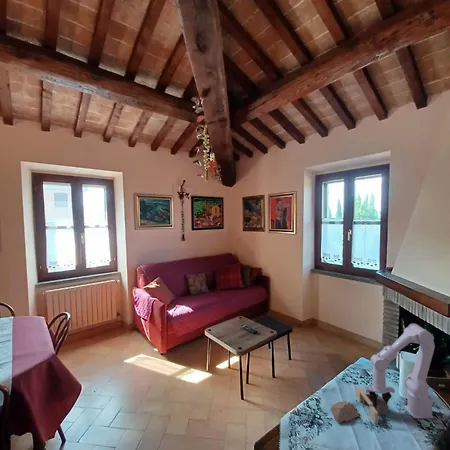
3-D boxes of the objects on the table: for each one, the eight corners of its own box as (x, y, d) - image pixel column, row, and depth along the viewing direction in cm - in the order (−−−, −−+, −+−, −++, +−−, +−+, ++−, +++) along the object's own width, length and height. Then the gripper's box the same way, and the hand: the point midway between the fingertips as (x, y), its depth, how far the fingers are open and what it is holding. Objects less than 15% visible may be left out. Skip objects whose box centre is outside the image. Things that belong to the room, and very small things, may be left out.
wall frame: (358, 395, 138) (358, 384, 138) (378, 423, 119) (377, 410, 119) (355, 395, 138) (355, 384, 138) (375, 423, 119) (374, 410, 119)
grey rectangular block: (380, 405, 130) (380, 396, 130) (388, 414, 124) (387, 404, 124) (372, 405, 130) (372, 396, 130) (379, 414, 124) (378, 404, 124)
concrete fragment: (361, 418, 122) (361, 406, 122) (338, 425, 119) (337, 413, 119) (351, 408, 129) (351, 397, 129) (328, 414, 125) (328, 402, 125)
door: (362, 402, 133) (362, 393, 132) (377, 402, 132) (377, 393, 132) (364, 406, 130) (364, 396, 130) (380, 406, 130) (380, 396, 130)
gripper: (388, 374, 131) (388, 399, 131) (360, 374, 131) (361, 399, 131) (397, 383, 124) (397, 410, 124) (368, 383, 124) (368, 410, 124)
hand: (379, 405), depth 127 cm, fingers closed on grey rectangular block, 4 cm apart
